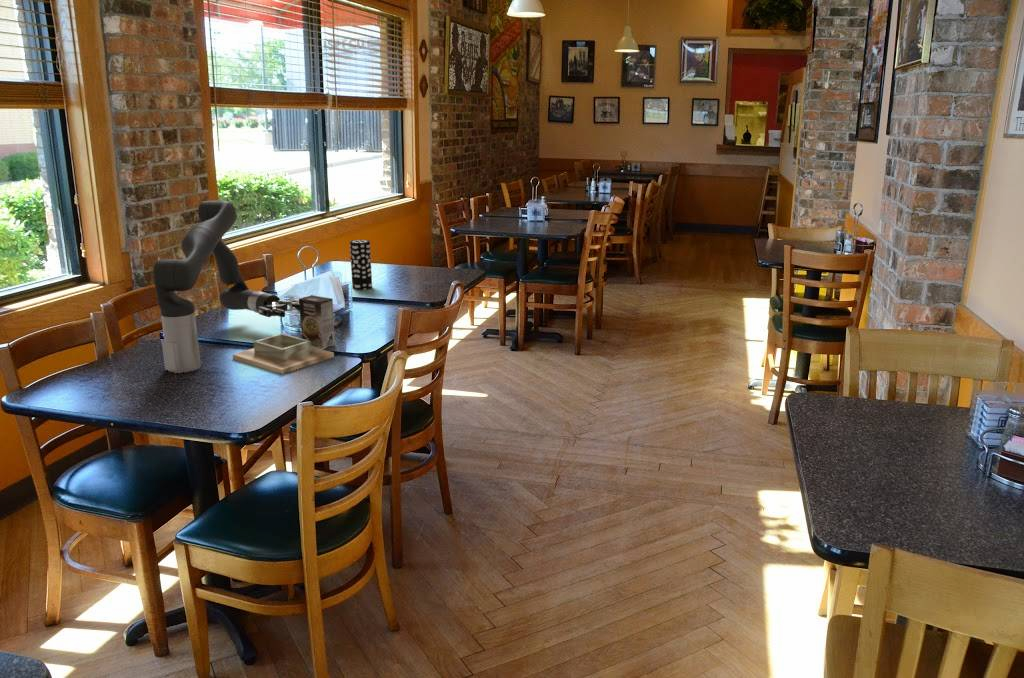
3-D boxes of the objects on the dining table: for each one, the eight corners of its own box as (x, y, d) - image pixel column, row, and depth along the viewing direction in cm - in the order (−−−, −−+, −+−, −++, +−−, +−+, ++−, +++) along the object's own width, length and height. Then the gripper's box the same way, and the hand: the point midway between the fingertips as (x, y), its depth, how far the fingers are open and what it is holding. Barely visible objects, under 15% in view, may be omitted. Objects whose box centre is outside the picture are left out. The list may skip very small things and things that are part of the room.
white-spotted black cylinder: (350, 286, 339) (347, 240, 333) (369, 284, 343) (366, 239, 337) (355, 290, 332) (352, 243, 326) (374, 289, 335) (372, 242, 329)
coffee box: (301, 346, 259) (297, 298, 255) (314, 341, 265) (311, 294, 260) (323, 350, 255) (319, 302, 251) (336, 345, 261) (332, 297, 256)
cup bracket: (282, 374, 234) (280, 356, 232) (233, 358, 247) (231, 342, 245) (334, 357, 249) (332, 340, 247) (284, 343, 262) (283, 327, 261)
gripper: (245, 297, 266) (276, 305, 257) (279, 288, 277) (310, 295, 268) (247, 318, 268) (278, 327, 259) (281, 309, 279) (312, 317, 270)
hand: (294, 311), depth 264 cm, fingers open, 8 cm apart
